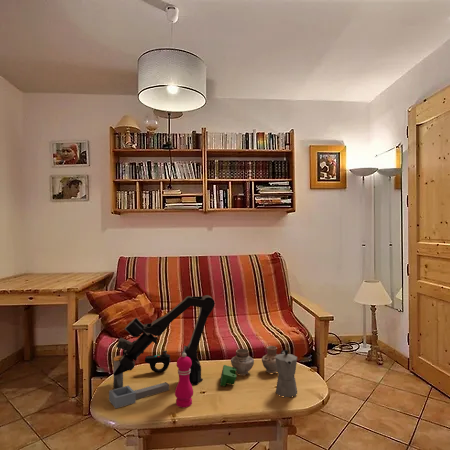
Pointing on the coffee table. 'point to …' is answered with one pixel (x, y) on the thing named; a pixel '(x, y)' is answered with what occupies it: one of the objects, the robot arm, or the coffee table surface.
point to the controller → (158, 358)
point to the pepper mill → (184, 382)
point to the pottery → (246, 362)
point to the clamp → (228, 375)
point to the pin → (118, 378)
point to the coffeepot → (286, 374)
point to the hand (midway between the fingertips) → (115, 371)
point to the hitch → (134, 394)
